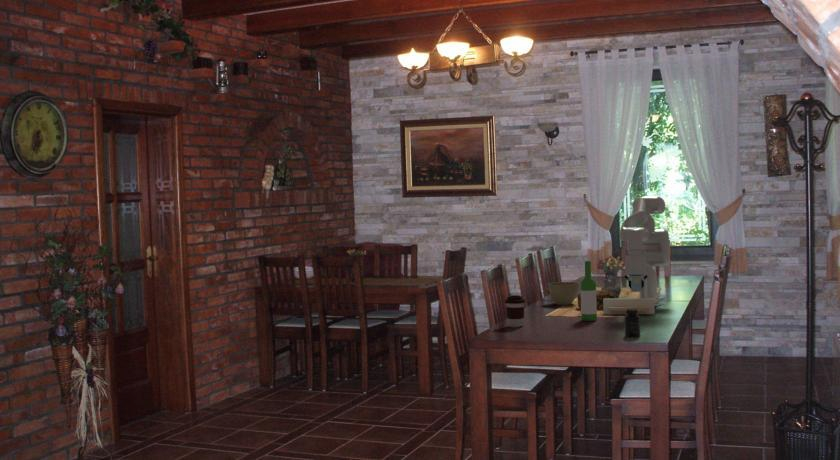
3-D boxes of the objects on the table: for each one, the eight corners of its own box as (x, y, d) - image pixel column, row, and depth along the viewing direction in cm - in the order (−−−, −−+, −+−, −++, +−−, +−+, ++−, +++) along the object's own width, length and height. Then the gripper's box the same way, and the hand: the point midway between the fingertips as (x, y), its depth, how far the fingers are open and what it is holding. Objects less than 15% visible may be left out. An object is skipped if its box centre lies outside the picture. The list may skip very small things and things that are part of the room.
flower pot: (584, 302, 489) (583, 282, 489) (572, 307, 474) (571, 285, 474) (555, 301, 499) (555, 281, 499) (543, 305, 484) (542, 284, 483)
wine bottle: (580, 321, 423) (578, 261, 421) (582, 319, 430) (581, 260, 429) (595, 321, 420) (594, 261, 419) (598, 319, 427) (596, 260, 426)
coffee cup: (502, 326, 416) (501, 295, 416) (519, 324, 420) (518, 294, 420) (511, 328, 407) (511, 297, 407) (529, 326, 411) (528, 296, 411)
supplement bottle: (622, 335, 380) (622, 308, 379) (637, 334, 380) (636, 308, 380) (627, 337, 373) (627, 310, 373) (642, 336, 374) (642, 310, 373)
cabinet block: (631, 290, 434) (630, 274, 433) (641, 290, 433) (640, 274, 432) (631, 292, 427) (631, 276, 426) (641, 292, 426) (641, 276, 425)
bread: (610, 306, 472) (609, 288, 472) (615, 309, 461) (614, 291, 461) (577, 307, 471) (576, 290, 471) (581, 310, 461) (581, 292, 460)
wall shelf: (603, 312, 449) (603, 297, 449) (654, 312, 443) (653, 297, 443) (603, 315, 439) (602, 300, 439) (654, 315, 433) (654, 300, 432)
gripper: (652, 252, 431) (653, 287, 432) (618, 252, 435) (619, 287, 436) (652, 253, 424) (653, 289, 425) (618, 254, 427) (619, 289, 428)
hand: (636, 288), depth 430 cm, fingers closed on cabinet block, 5 cm apart
